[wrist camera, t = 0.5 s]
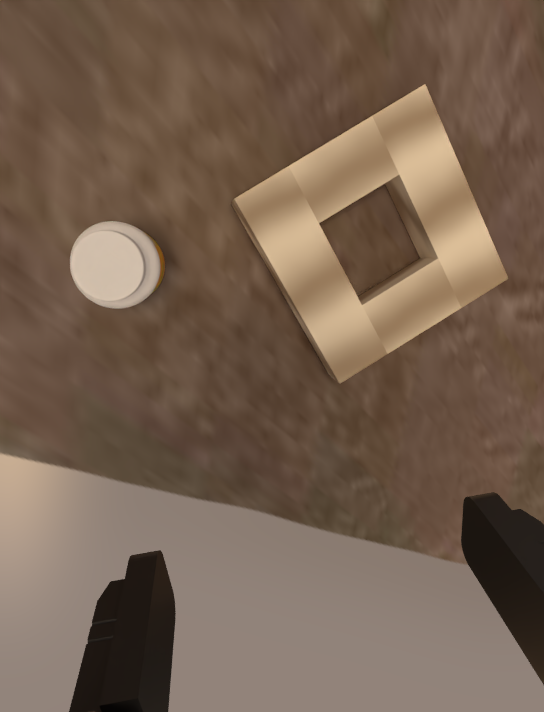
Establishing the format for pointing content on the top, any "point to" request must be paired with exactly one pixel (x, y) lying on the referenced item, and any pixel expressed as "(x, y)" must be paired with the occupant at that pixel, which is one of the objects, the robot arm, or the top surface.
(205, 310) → the top surface
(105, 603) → the robot arm
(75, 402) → the top surface
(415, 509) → the top surface
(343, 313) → the light wooden square frame
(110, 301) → the supplement bottle
